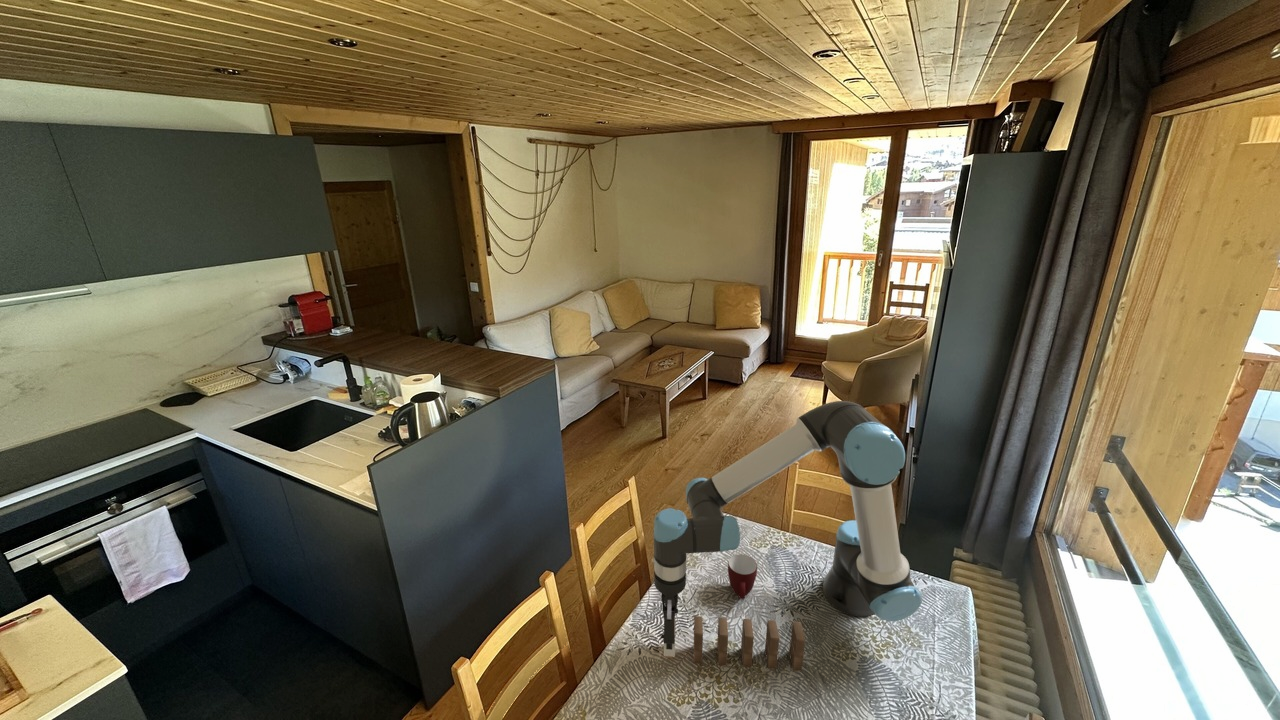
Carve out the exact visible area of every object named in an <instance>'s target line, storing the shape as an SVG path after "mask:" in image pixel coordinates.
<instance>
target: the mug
mask: <svg viewBox="0 0 1280 720" xmlns="http://www.w3.org/2000/svg"><path fill="white" fill-rule="evenodd" d="M757 572H758V564H757V561H756V560H755V559H754V558H753V557H751V556H750V555H748V554H742V553H741V554H740V553H738V554H734V555H732V556H730V558H729V559H728V564H727V574H728V579H729V585H730V588H731V589H732V592H733V593H734V594H735V596H738V597H739V599H742V600H744V599H745V597H747V596H748V594H750V592H751V591H752V589H753V587H754V585H755V582H756V580H757V579H756V578H757V575H758V573H757Z"/></svg>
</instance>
